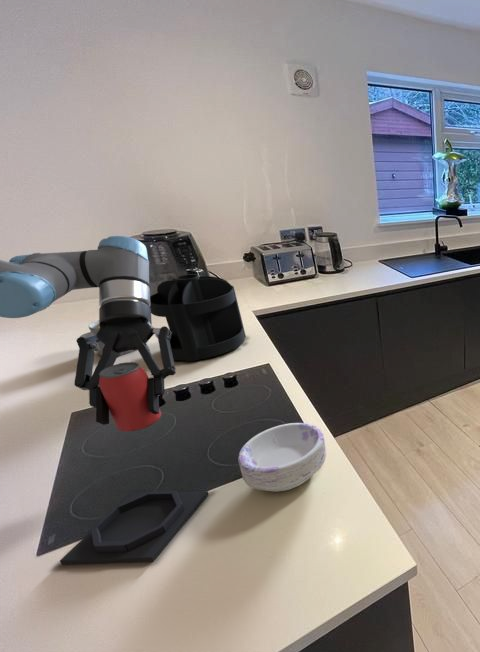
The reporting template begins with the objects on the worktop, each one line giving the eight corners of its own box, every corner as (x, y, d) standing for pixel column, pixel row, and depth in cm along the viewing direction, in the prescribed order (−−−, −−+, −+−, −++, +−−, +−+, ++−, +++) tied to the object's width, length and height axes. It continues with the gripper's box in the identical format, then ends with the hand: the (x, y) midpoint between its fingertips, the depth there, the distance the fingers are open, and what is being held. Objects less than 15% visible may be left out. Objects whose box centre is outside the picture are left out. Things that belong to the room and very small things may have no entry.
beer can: (124, 438, 74) (101, 381, 69) (112, 425, 77) (89, 370, 72) (167, 420, 79) (149, 366, 74) (154, 409, 82) (135, 357, 77)
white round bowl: (343, 456, 89) (338, 427, 86) (294, 510, 75) (286, 478, 72) (285, 444, 92) (278, 416, 89) (227, 494, 78) (217, 462, 75)
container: (255, 348, 136) (238, 277, 127) (170, 370, 121) (144, 292, 112) (238, 329, 151) (222, 264, 141) (160, 346, 136) (136, 275, 126)
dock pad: (61, 565, 64) (55, 554, 63) (133, 496, 77) (128, 486, 76) (153, 561, 65) (148, 551, 64) (208, 494, 78) (205, 484, 77)
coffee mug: (137, 340, 139) (127, 314, 135) (143, 349, 133) (133, 322, 129) (82, 353, 130) (71, 325, 126) (86, 363, 124) (74, 334, 120)
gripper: (191, 308, 88) (199, 408, 81) (69, 322, 79) (67, 436, 72) (180, 292, 82) (188, 399, 75) (46, 305, 73) (41, 428, 66)
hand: (129, 417), depth 74 cm, fingers closed on beer can, 6 cm apart
